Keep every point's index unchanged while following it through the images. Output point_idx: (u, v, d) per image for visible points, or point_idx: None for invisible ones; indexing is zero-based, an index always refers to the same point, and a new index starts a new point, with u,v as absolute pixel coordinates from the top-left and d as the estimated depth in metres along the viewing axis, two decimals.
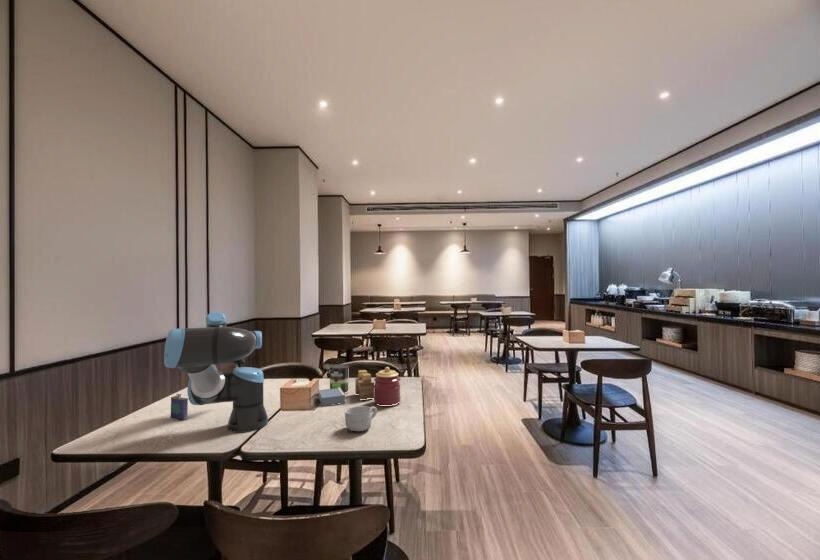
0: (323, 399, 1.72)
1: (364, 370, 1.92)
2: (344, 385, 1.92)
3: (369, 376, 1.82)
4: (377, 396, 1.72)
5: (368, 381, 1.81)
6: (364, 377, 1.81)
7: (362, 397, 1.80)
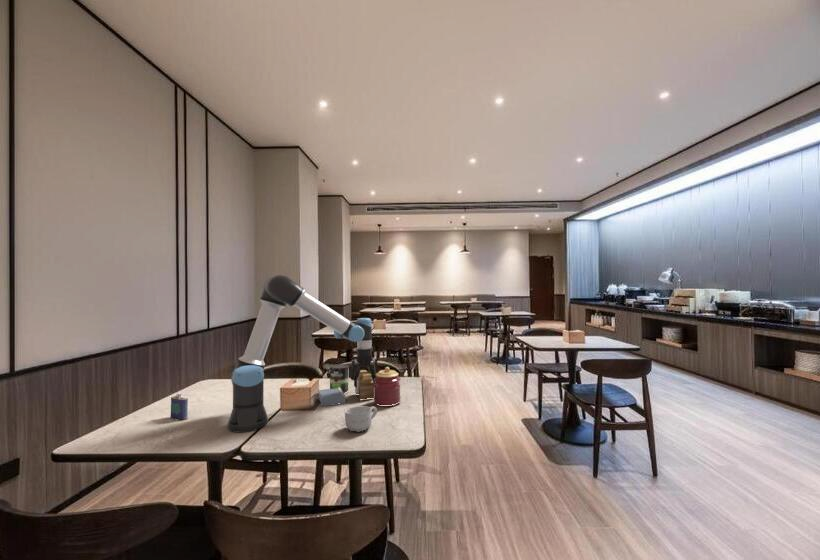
0: (323, 399, 1.72)
1: (364, 370, 1.92)
2: (344, 385, 1.92)
3: (369, 376, 1.82)
4: (377, 396, 1.72)
5: (368, 381, 1.81)
6: (364, 377, 1.81)
7: (362, 397, 1.80)
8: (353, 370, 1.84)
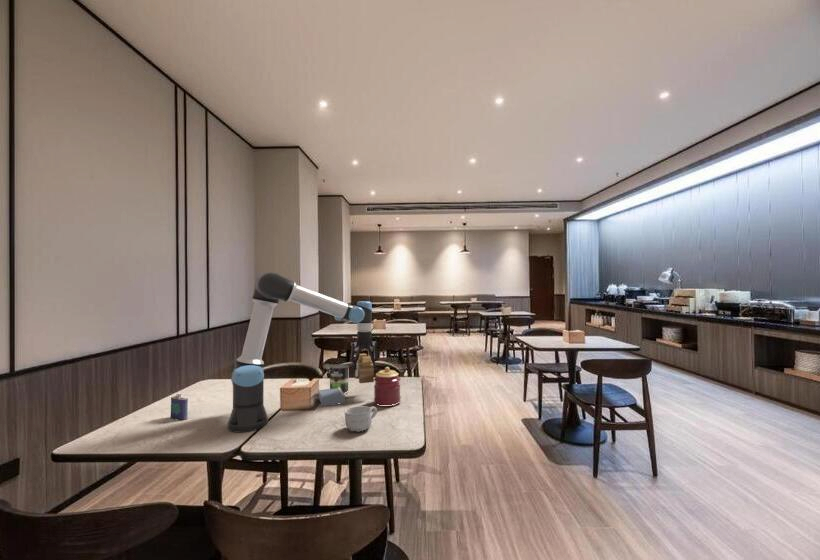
0: (323, 399, 1.72)
1: None
2: (344, 385, 1.92)
3: (369, 359, 1.82)
4: (377, 396, 1.72)
5: (368, 364, 1.82)
6: (364, 359, 1.81)
7: (361, 379, 1.80)
8: (353, 353, 1.84)
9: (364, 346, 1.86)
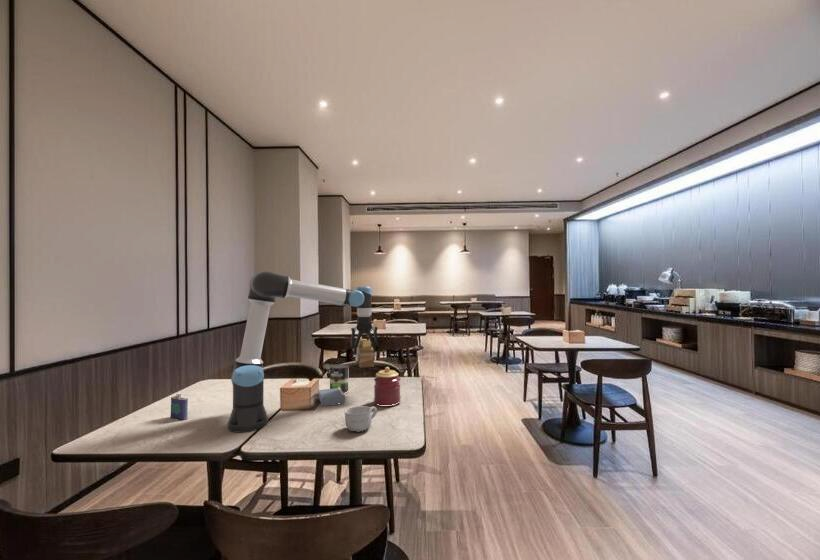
0: (323, 399, 1.72)
1: (364, 339, 1.92)
2: (344, 385, 1.92)
3: (369, 343, 1.82)
4: (377, 396, 1.72)
5: (368, 348, 1.82)
6: (364, 344, 1.81)
7: (362, 364, 1.81)
8: (353, 337, 1.84)
9: (364, 331, 1.86)
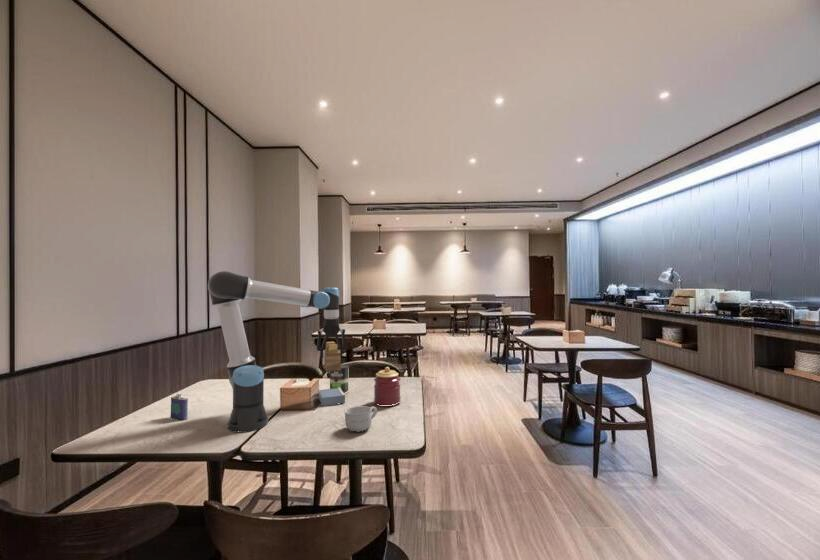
0: (323, 399, 1.72)
1: None
2: (344, 385, 1.92)
3: (335, 346, 1.76)
4: (377, 396, 1.72)
5: (334, 351, 1.76)
6: (330, 347, 1.75)
7: (328, 367, 1.75)
8: (319, 340, 1.78)
9: (331, 333, 1.80)
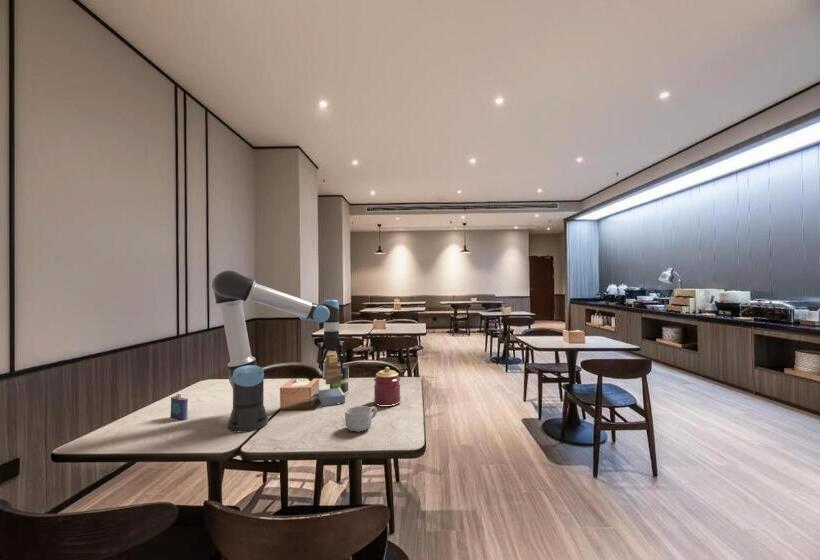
0: (323, 399, 1.72)
1: (332, 354, 1.86)
2: (344, 385, 1.92)
3: (335, 359, 1.76)
4: (377, 396, 1.72)
5: (334, 364, 1.76)
6: (330, 360, 1.75)
7: (328, 380, 1.74)
8: (319, 353, 1.78)
9: (331, 346, 1.80)
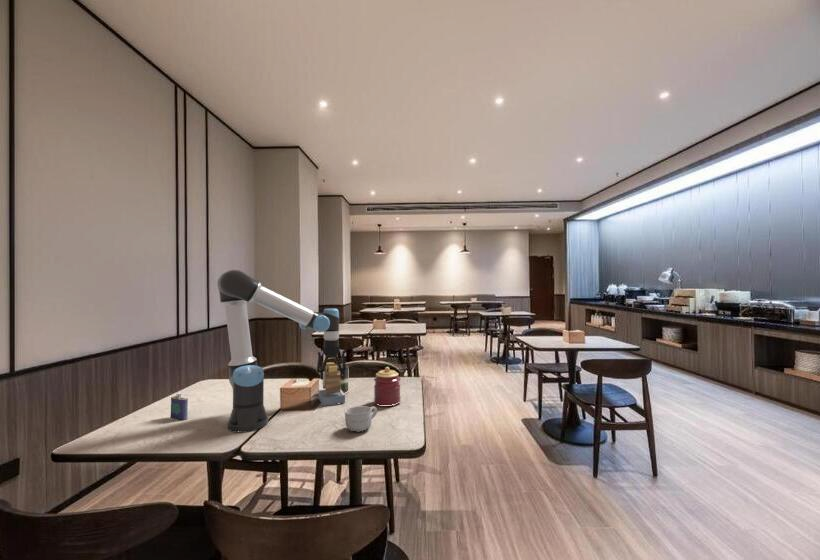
0: (323, 399, 1.72)
1: (332, 362, 1.86)
2: (344, 385, 1.92)
3: (335, 368, 1.76)
4: (377, 396, 1.72)
5: (334, 373, 1.76)
6: (330, 369, 1.75)
7: (327, 390, 1.74)
8: (319, 362, 1.78)
9: (331, 355, 1.80)
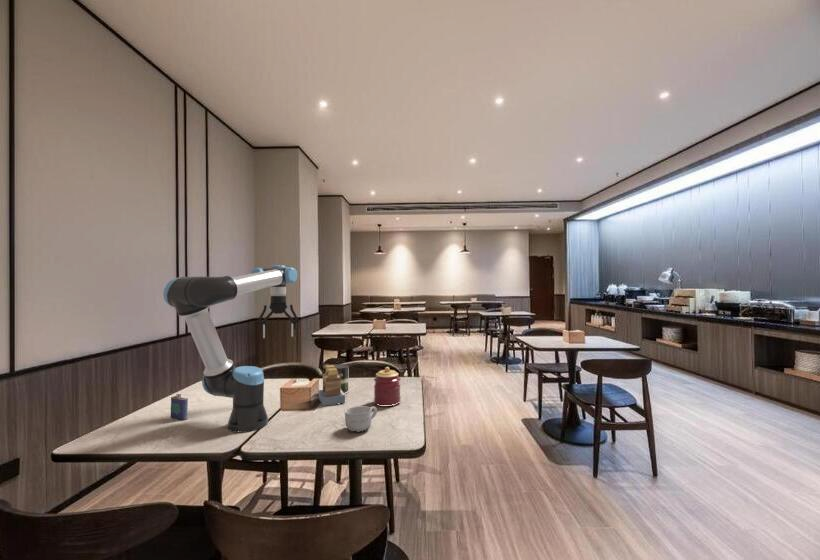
0: (323, 399, 1.72)
1: (332, 365, 1.86)
2: (344, 385, 1.92)
3: (335, 371, 1.76)
4: (377, 396, 1.72)
5: (334, 376, 1.75)
6: (330, 372, 1.75)
7: (327, 393, 1.74)
8: (262, 314, 1.80)
9: (278, 310, 1.83)
